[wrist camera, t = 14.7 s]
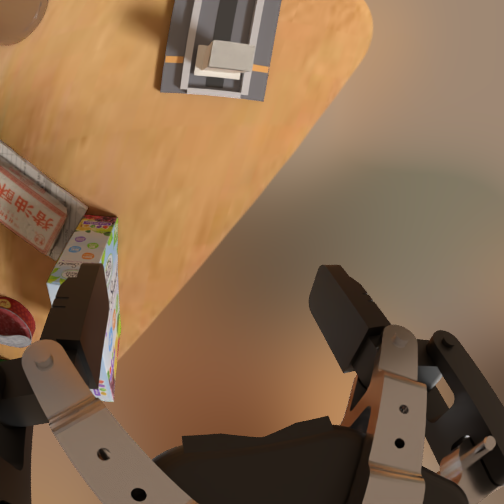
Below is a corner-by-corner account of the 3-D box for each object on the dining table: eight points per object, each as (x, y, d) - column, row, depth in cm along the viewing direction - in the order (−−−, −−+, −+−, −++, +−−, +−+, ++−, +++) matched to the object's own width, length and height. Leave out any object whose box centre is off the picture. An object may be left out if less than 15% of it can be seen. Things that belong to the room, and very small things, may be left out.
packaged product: (-43, 205, 25) (-21, 142, 22) (-26, 191, 29) (-3, 133, 26) (50, 275, 34) (81, 221, 32) (59, 256, 38) (90, 205, 36)
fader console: (160, 92, 30) (159, 92, 28) (188, -52, 20) (189, -59, 18) (261, 100, 33) (265, 102, 32) (286, -37, 23) (291, -42, 22)
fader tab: (193, 75, 29) (198, 72, 21) (198, 45, 27) (205, 32, 19) (237, 79, 30) (258, 79, 22) (242, 50, 28) (265, 41, 20)
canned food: (37, 293, 45) (47, 335, 39) (25, 327, 46) (35, 369, 41) (-16, 282, 35) (-14, 328, 30) (-23, 321, 37) (-18, 365, 32)
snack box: (80, 212, 35) (42, 281, 23) (119, 215, 37) (96, 287, 25) (92, 327, 46) (80, 401, 33) (123, 329, 47) (117, 405, 35)
